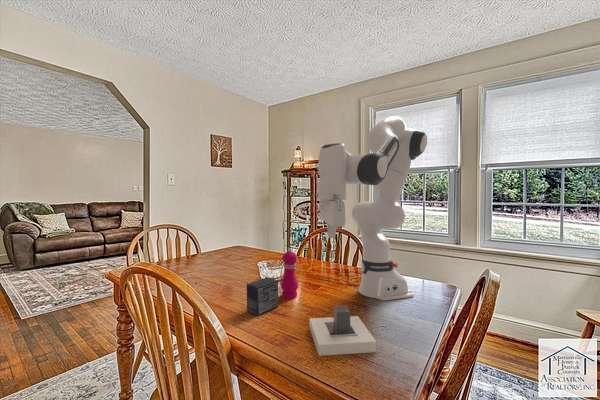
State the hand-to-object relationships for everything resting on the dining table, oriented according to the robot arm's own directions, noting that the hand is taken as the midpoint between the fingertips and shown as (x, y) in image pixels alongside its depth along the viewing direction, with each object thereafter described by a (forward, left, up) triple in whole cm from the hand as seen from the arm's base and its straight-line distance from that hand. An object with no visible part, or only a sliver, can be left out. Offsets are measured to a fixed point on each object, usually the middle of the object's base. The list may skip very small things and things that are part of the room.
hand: (331, 237), depth 95 cm
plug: (-2, +8, -29) cm, 30 cm away
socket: (-1, +8, -29) cm, 30 cm away
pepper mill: (+11, -28, -29) cm, 42 cm away
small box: (+22, -16, -29) cm, 40 cm away
